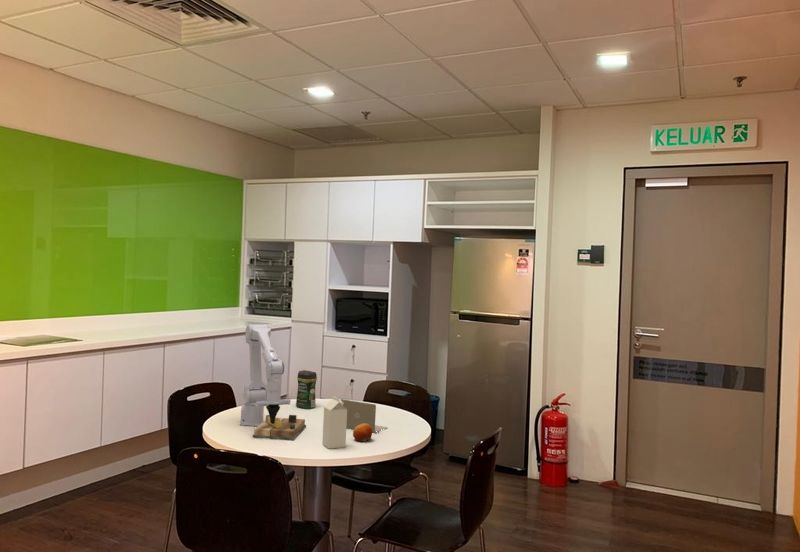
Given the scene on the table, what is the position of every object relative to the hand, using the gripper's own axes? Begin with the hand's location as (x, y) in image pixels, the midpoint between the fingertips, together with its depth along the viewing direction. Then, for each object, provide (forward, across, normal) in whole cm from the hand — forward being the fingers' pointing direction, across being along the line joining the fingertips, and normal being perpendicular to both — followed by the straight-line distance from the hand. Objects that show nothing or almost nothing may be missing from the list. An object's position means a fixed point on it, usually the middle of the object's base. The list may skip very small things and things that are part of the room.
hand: (272, 423), depth 244 cm
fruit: (+5, +30, -22) cm, 38 cm away
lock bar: (+1, +2, +3) cm, 4 cm away
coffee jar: (+5, +36, +42) cm, 56 cm away
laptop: (+6, +41, -6) cm, 42 cm away
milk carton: (+5, +16, -25) cm, 30 cm away
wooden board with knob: (+5, +5, +3) cm, 8 cm away
